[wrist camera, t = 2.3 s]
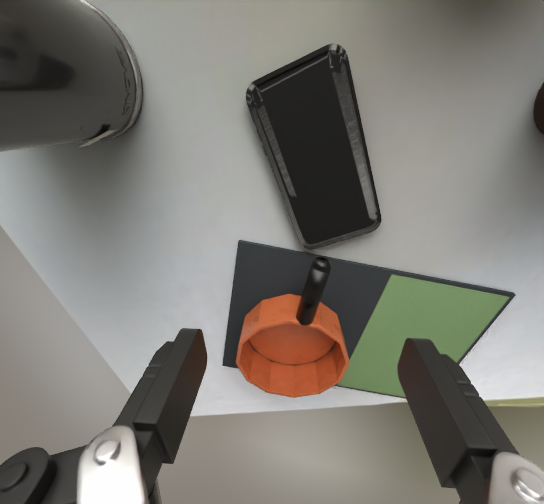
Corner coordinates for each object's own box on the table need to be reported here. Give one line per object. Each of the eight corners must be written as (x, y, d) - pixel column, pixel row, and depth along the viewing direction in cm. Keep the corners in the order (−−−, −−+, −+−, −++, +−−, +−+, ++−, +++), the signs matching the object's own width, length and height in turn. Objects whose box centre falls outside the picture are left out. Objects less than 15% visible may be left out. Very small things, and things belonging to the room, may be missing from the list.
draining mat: (223, 363, 36) (222, 366, 36) (239, 239, 27) (238, 241, 26) (426, 399, 37) (427, 403, 37) (513, 292, 27) (516, 295, 27)
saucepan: (238, 356, 34) (231, 388, 30) (260, 228, 25) (254, 249, 21) (325, 372, 35) (329, 405, 31) (378, 251, 25) (394, 276, 21)
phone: (343, 36, 17) (383, 228, 24) (340, 41, 18) (380, 223, 25) (239, 88, 19) (302, 253, 25) (242, 89, 20) (302, 247, 26)
